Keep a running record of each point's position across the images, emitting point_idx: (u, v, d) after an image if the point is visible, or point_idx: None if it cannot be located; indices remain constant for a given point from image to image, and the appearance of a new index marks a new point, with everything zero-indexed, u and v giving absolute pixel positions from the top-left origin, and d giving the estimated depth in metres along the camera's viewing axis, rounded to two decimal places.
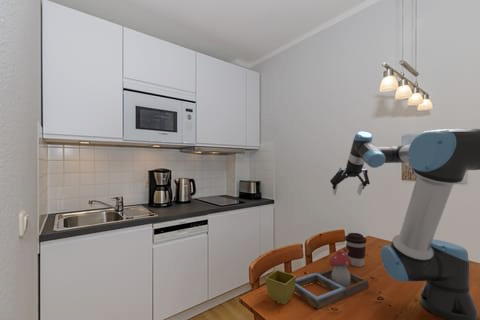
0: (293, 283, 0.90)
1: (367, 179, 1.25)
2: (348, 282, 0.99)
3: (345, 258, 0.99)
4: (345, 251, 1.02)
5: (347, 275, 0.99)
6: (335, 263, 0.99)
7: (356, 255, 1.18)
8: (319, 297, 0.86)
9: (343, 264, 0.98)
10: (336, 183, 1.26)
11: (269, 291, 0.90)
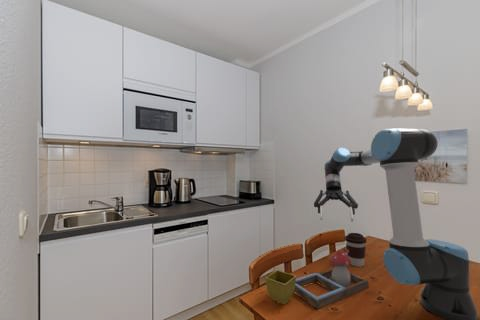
0: (293, 283, 0.90)
1: (352, 200, 1.16)
2: (348, 282, 0.99)
3: (344, 258, 0.99)
4: (345, 251, 1.02)
5: (347, 275, 0.99)
6: (335, 263, 0.99)
7: (356, 255, 1.18)
8: (319, 297, 0.86)
9: (343, 264, 0.98)
10: (319, 203, 1.19)
11: (269, 291, 0.90)
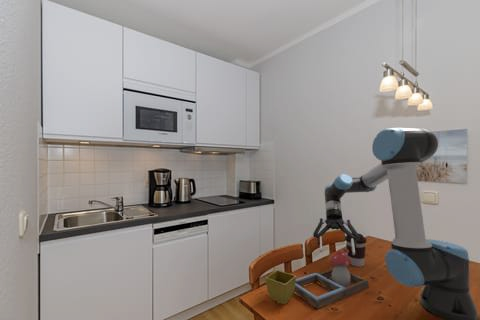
0: (293, 283, 0.90)
1: (354, 230, 1.10)
2: (348, 282, 0.99)
3: (345, 258, 0.99)
4: (345, 251, 1.02)
5: (347, 275, 0.99)
6: (335, 262, 0.99)
7: (356, 255, 1.18)
8: (319, 297, 0.86)
9: (343, 264, 0.98)
10: (319, 233, 1.13)
11: (269, 291, 0.90)
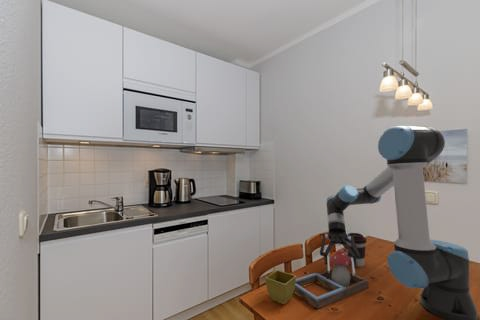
0: (293, 283, 0.90)
1: (355, 248, 1.03)
2: (348, 282, 0.99)
3: (344, 258, 0.99)
4: (345, 251, 1.02)
5: (347, 275, 0.99)
6: (334, 263, 0.99)
7: None
8: (319, 297, 0.86)
9: (343, 264, 0.98)
10: (325, 252, 1.05)
11: (269, 291, 0.90)
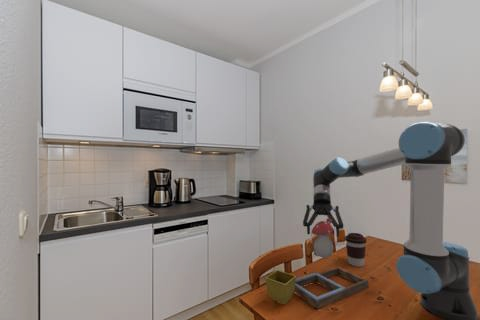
0: (293, 283, 0.90)
1: (339, 218, 1.00)
2: (330, 251, 0.96)
3: (327, 227, 0.96)
4: (328, 220, 0.99)
5: (329, 244, 0.96)
6: (316, 231, 0.97)
7: (356, 255, 1.18)
8: (319, 297, 0.86)
9: (325, 233, 0.96)
10: (308, 222, 1.02)
11: (269, 291, 0.90)
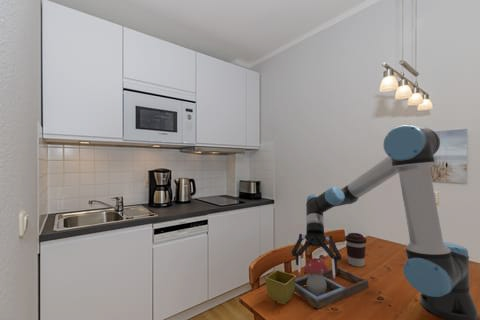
0: (293, 283, 0.90)
1: (336, 249, 0.97)
2: (323, 291, 0.92)
3: (320, 266, 0.93)
4: (321, 258, 0.95)
5: (322, 283, 0.93)
6: (309, 270, 0.93)
7: (356, 255, 1.18)
8: (319, 297, 0.86)
9: (318, 272, 0.92)
10: (297, 252, 0.99)
11: (269, 291, 0.90)
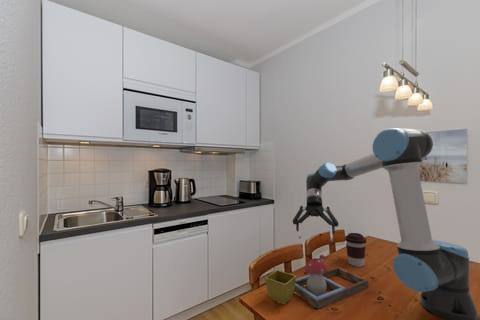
0: (293, 283, 0.90)
1: (333, 217, 1.09)
2: (323, 291, 0.92)
3: (320, 266, 0.93)
4: (321, 258, 0.95)
5: (322, 283, 0.93)
6: (309, 270, 0.93)
7: (356, 255, 1.18)
8: (319, 297, 0.86)
9: (318, 272, 0.92)
10: (298, 220, 1.12)
11: (269, 291, 0.90)
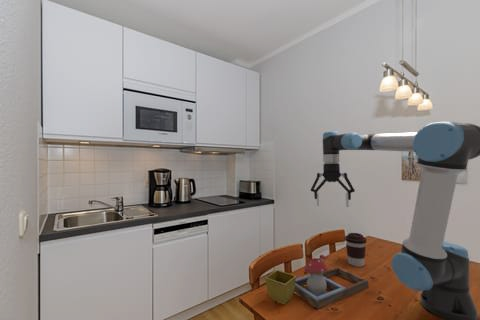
0: (293, 283, 0.90)
1: (350, 185, 1.14)
2: (323, 291, 0.92)
3: (320, 266, 0.93)
4: (321, 258, 0.95)
5: (322, 283, 0.93)
6: (309, 270, 0.93)
7: (356, 255, 1.18)
8: (319, 297, 0.86)
9: (318, 272, 0.92)
10: (316, 190, 1.18)
11: (269, 291, 0.90)
